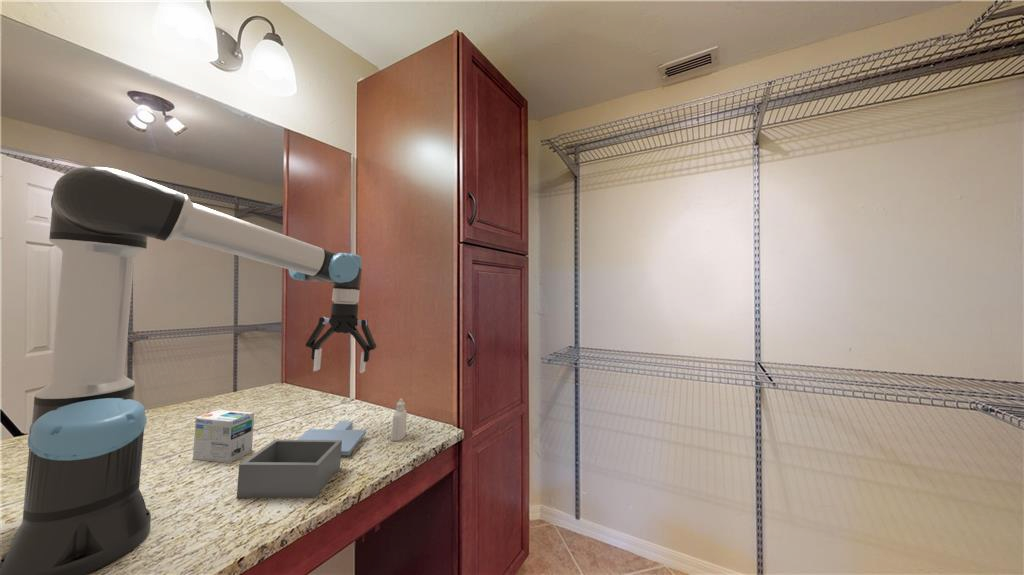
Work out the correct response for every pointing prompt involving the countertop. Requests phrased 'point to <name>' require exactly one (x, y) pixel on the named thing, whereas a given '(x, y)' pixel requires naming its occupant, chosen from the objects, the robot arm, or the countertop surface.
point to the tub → (289, 469)
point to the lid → (337, 435)
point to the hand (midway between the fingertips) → (339, 371)
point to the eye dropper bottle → (399, 422)
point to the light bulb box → (223, 435)
